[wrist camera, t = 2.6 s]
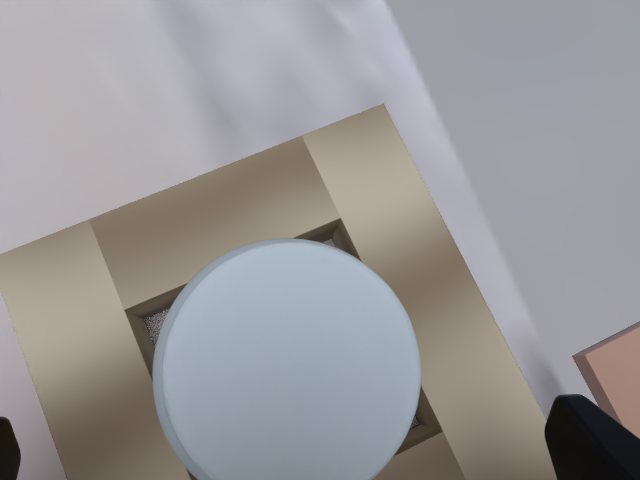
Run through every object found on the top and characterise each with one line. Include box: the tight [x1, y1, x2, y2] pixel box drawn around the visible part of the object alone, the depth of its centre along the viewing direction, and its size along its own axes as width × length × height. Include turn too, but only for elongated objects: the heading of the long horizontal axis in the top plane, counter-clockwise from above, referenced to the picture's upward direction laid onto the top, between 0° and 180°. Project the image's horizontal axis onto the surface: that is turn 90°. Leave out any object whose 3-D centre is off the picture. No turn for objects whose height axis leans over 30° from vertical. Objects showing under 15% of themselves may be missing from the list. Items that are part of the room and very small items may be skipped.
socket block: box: [0, 103, 557, 480], centre depth 17 cm, size 12×12×2 cm
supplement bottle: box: [152, 238, 421, 480], centre depth 13 cm, size 5×5×10 cm
